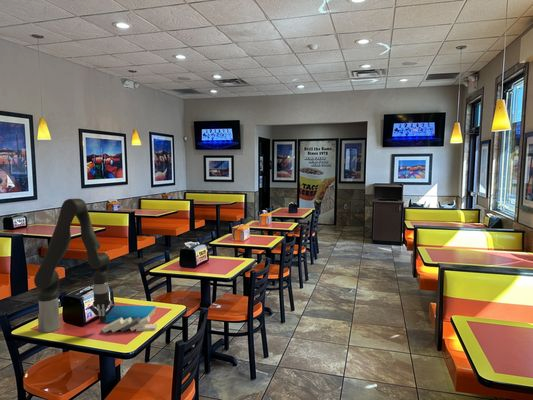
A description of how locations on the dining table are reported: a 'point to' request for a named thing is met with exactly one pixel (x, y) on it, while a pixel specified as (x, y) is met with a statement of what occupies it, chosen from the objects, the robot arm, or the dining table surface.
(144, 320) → the domino
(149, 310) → the book
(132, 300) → the dining table surface
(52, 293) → the robot arm
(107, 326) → the domino
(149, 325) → the domino
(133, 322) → the domino
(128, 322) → the domino
